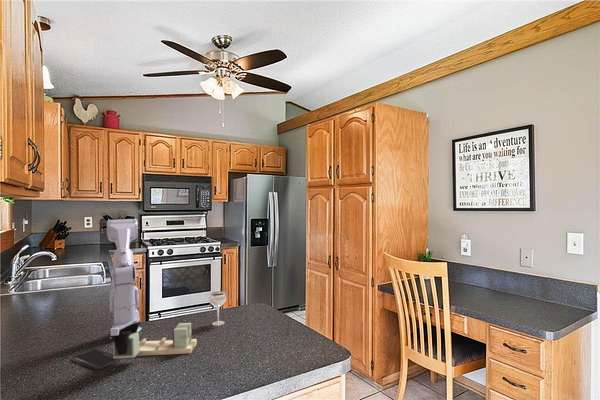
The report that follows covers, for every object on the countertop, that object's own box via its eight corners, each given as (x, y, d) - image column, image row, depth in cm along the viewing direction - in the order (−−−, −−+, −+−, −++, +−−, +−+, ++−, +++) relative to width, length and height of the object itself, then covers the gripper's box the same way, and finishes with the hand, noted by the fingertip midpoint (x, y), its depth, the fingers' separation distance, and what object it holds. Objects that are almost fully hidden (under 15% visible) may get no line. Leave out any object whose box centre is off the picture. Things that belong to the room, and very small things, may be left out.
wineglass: (214, 327, 135) (213, 296, 135) (206, 323, 140) (206, 293, 140) (230, 323, 139) (229, 293, 139) (222, 319, 144) (221, 290, 144)
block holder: (137, 346, 119) (137, 324, 119) (196, 343, 120) (196, 321, 120) (127, 356, 111) (126, 333, 111) (190, 353, 112) (190, 330, 112)
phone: (96, 368, 102) (70, 357, 110) (96, 372, 102) (71, 360, 110) (122, 357, 109) (96, 348, 117) (122, 361, 109) (96, 351, 117)
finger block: (119, 352, 108) (119, 333, 108) (139, 351, 109) (138, 332, 108) (112, 359, 104) (112, 339, 104) (133, 358, 104) (132, 338, 104)
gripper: (127, 313, 99) (129, 360, 99) (147, 298, 113) (148, 339, 113) (102, 314, 99) (103, 361, 99) (125, 299, 113) (126, 340, 113)
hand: (126, 350), depth 106 cm, fingers closed on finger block, 5 cm apart
